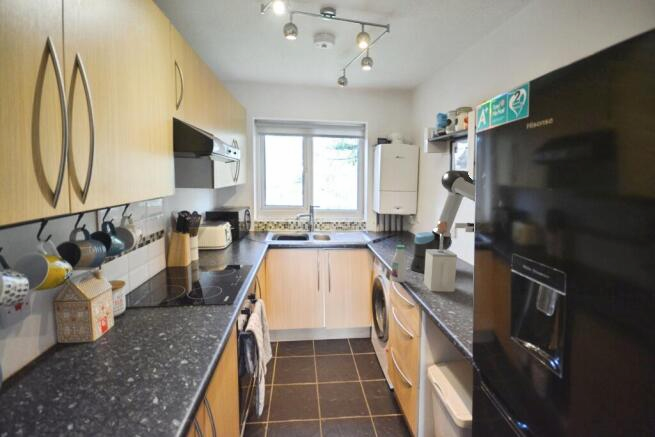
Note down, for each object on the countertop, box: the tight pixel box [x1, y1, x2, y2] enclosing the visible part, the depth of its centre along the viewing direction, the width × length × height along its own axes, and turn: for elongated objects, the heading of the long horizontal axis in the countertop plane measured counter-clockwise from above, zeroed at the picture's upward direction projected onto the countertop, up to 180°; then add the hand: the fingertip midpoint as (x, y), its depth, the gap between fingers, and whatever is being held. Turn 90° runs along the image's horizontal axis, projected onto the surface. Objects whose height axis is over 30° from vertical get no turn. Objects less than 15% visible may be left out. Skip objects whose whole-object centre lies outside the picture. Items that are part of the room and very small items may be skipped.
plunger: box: [437, 220, 447, 253], centre depth 167 cm, size 7×7×26 cm
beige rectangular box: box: [423, 249, 458, 293], centre depth 167 cm, size 16×12×19 cm
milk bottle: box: [391, 244, 407, 283], centre depth 179 cm, size 8×8×20 cm
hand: (460, 227), depth 165 cm, fingers open, 13 cm apart
